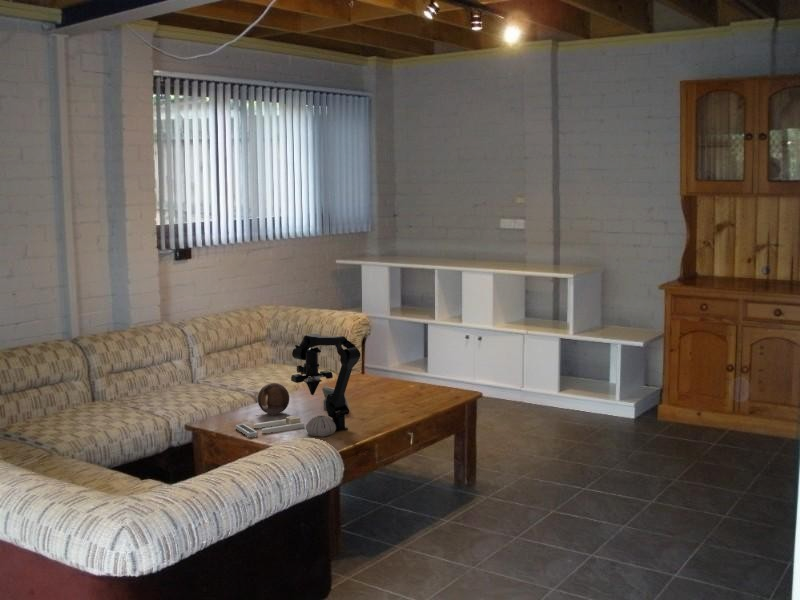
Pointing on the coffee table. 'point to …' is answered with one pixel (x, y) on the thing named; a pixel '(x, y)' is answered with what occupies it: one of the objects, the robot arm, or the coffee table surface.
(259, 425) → the channel
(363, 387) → the coffee table surface
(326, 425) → the sea urchin shell
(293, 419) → the birch block
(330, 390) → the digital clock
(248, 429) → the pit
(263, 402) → the wooden sphere
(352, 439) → the coffee table surface
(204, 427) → the coffee table surface
